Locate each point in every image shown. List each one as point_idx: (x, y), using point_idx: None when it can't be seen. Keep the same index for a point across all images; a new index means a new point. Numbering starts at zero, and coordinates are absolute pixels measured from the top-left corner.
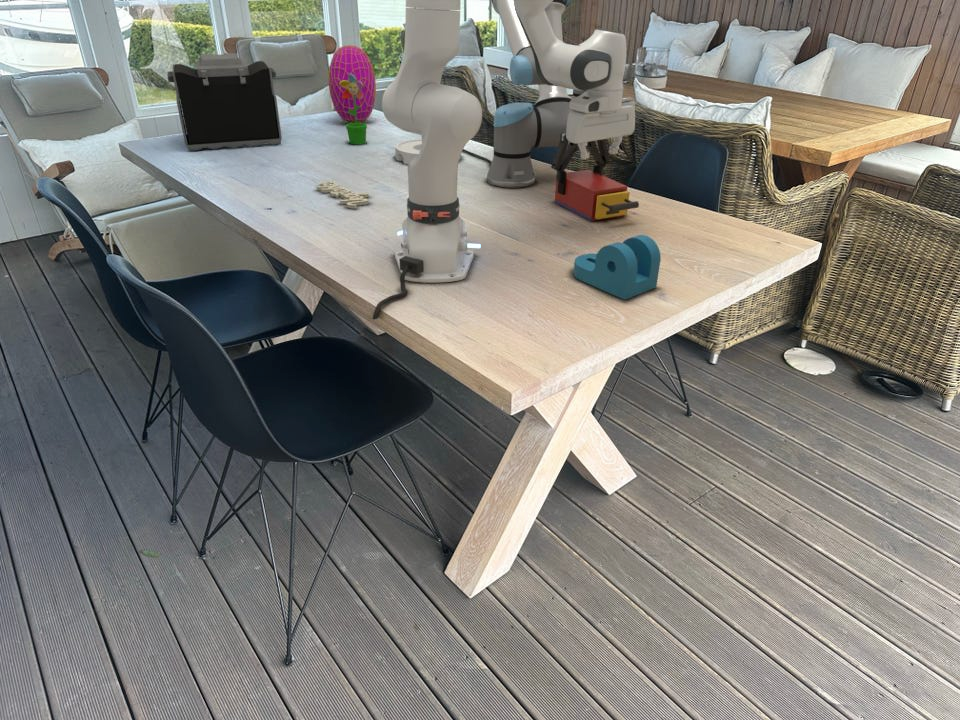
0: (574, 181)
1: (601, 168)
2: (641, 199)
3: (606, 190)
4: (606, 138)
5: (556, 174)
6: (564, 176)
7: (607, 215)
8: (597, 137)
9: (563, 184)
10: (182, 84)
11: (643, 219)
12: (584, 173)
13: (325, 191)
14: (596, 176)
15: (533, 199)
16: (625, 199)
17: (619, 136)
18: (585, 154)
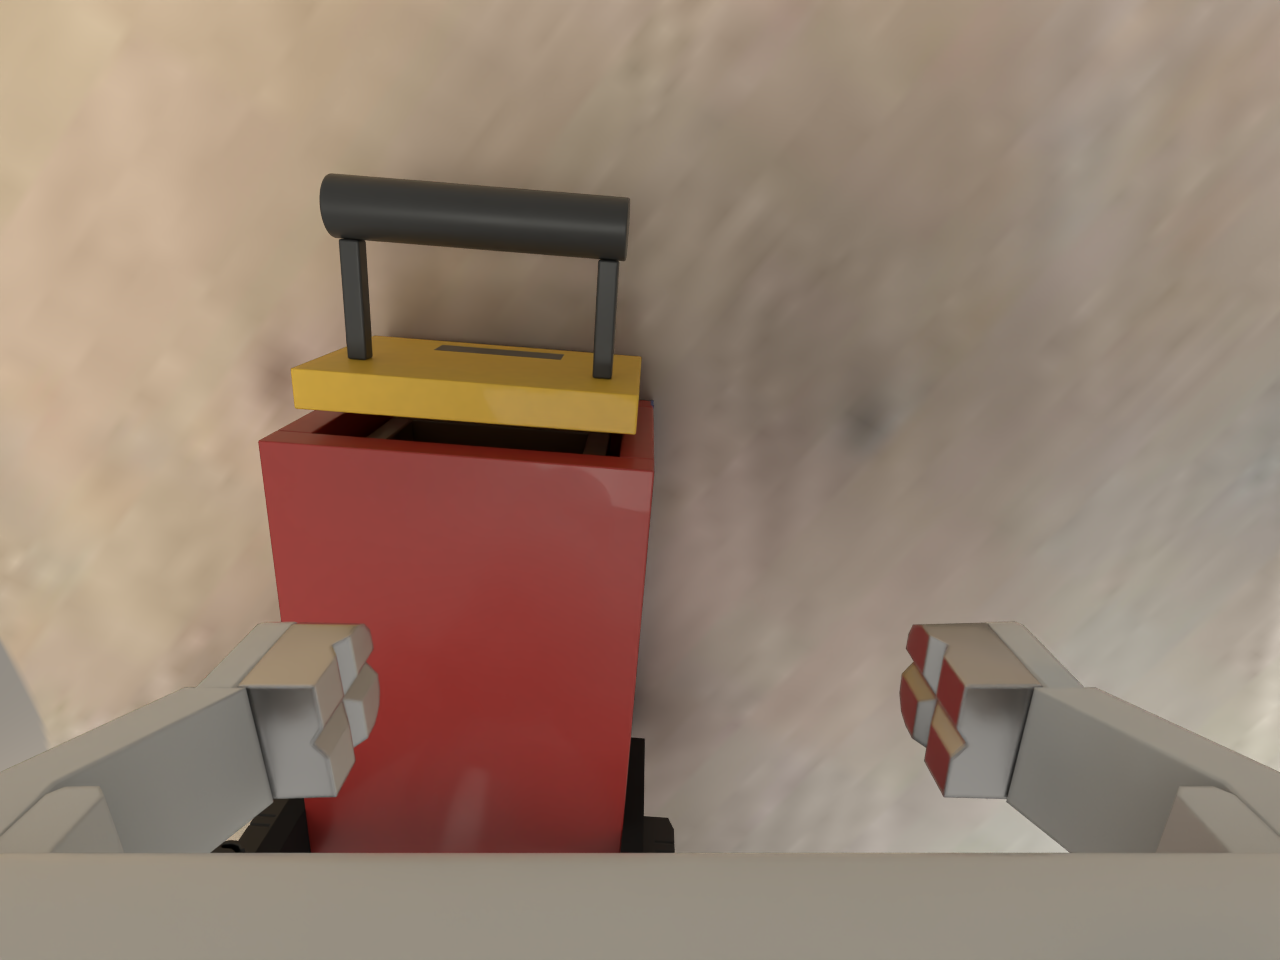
0: (614, 751)
1: (248, 851)
2: (70, 571)
3: (510, 457)
4: (565, 854)
5: None
6: (638, 847)
7: (551, 352)
8: (1042, 917)
9: (643, 796)
10: None
11: (284, 241)
12: None
13: None
14: (360, 770)
15: (696, 847)
16: (364, 348)
17: (5, 853)
18: (1058, 664)
